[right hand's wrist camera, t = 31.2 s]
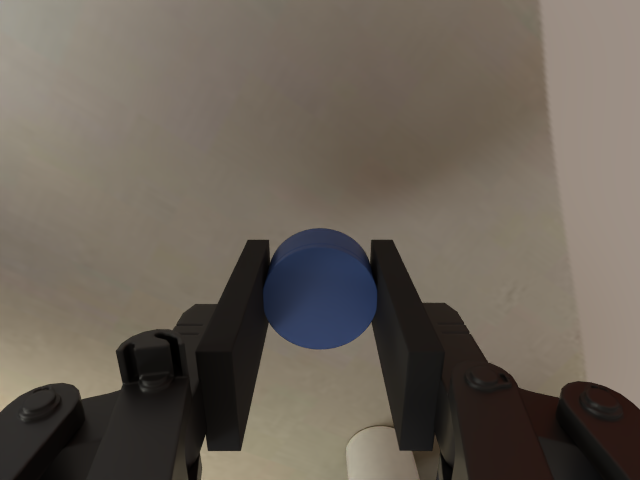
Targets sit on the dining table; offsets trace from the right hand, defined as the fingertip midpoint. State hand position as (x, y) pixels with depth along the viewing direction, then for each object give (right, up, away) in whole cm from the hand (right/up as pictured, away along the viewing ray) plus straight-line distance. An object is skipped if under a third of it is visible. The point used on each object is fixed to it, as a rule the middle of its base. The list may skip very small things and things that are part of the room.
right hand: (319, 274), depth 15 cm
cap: (0, -1, -2) cm, 2 cm away
